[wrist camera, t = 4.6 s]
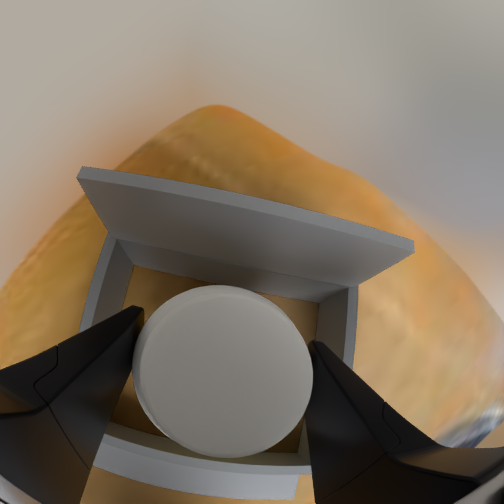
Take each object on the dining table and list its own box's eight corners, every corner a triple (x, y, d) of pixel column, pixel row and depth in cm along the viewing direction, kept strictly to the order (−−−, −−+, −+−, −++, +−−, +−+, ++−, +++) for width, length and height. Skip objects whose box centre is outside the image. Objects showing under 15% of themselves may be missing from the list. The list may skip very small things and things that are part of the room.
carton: (295, 496, 12) (362, 567, 4) (90, 461, 11) (19, 518, 2) (328, 295, 18) (418, 241, 9) (128, 254, 16) (76, 164, 8)
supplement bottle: (151, 335, 15) (76, 298, 5) (238, 304, 16) (288, 227, 7) (187, 423, 13) (168, 511, 4) (275, 388, 15) (374, 421, 5)
